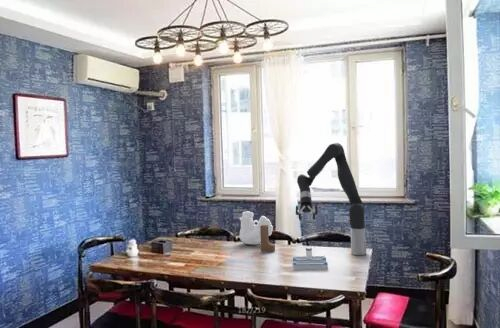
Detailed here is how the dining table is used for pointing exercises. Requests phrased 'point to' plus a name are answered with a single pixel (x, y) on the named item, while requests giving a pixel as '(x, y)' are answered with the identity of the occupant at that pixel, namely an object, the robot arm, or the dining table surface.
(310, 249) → the cord plug
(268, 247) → the wooden block
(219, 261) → the dining table surface
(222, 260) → the dining table surface
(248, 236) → the decorative rooster
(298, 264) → the duct
